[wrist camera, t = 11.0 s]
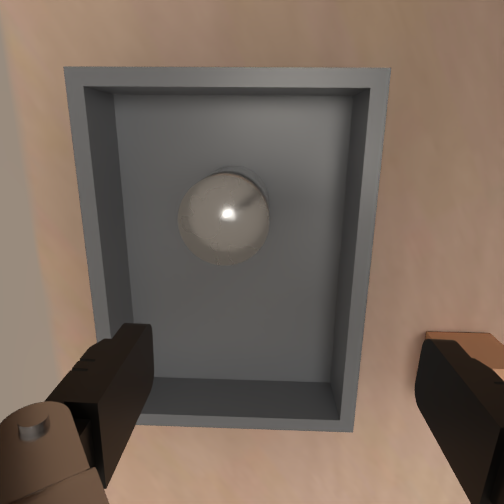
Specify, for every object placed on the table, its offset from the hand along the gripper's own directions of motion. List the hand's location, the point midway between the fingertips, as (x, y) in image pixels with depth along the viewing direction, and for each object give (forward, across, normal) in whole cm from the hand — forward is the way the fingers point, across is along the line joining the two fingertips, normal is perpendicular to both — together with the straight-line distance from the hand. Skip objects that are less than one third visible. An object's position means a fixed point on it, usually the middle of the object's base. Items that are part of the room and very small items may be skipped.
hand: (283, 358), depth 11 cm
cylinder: (+17, +3, -2) cm, 18 cm away
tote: (+18, +3, +2) cm, 18 cm away
